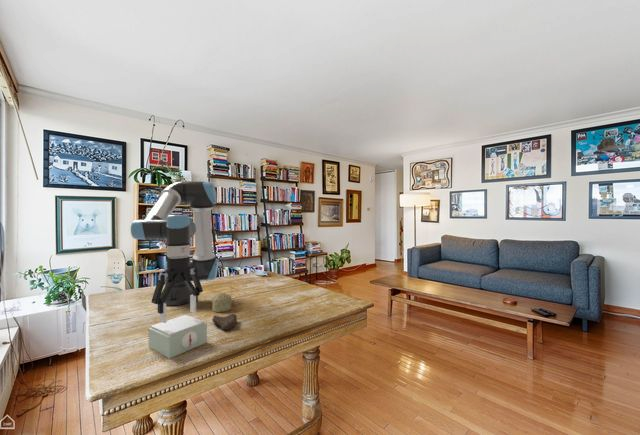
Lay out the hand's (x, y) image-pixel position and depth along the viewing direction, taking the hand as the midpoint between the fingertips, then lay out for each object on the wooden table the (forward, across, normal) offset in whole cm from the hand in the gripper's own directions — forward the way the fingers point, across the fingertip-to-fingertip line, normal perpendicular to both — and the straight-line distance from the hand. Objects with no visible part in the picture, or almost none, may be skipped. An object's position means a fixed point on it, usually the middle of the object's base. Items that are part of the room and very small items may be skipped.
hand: (178, 317), depth 101 cm
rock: (+10, +16, +4) cm, 20 cm away
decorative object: (+11, +30, +17) cm, 36 cm away
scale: (+10, 0, 0) cm, 10 cm away
